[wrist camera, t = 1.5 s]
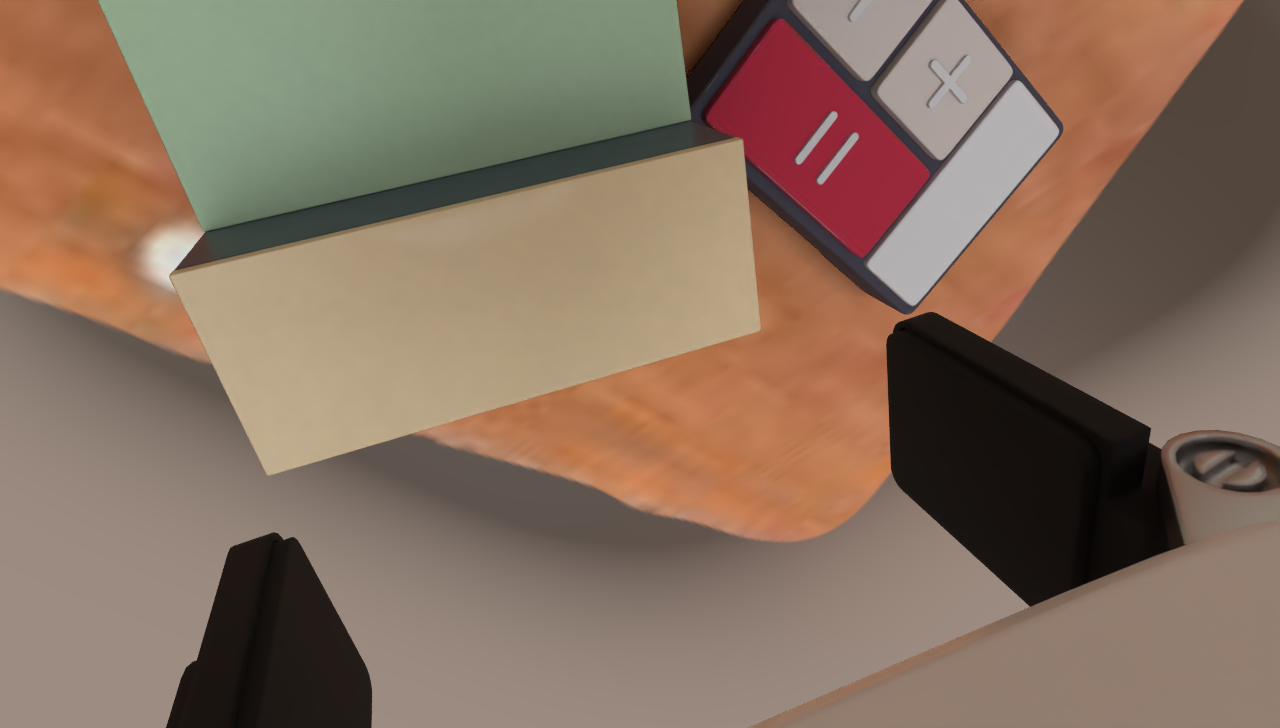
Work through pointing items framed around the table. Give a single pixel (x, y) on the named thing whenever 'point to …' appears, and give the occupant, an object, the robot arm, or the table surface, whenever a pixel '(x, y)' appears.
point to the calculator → (875, 129)
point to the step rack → (436, 204)
